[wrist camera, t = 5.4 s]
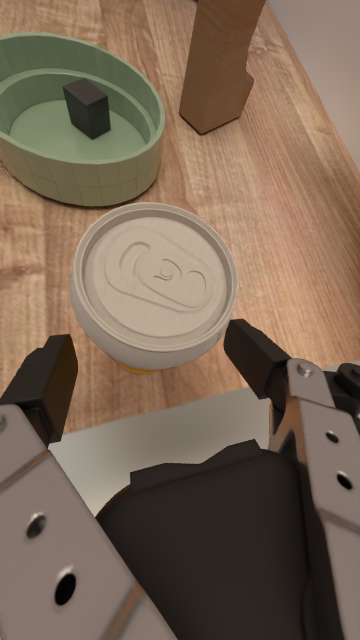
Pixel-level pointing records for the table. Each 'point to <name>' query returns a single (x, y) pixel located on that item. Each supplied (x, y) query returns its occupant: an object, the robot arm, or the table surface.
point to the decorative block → (219, 62)
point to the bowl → (64, 138)
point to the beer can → (153, 286)
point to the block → (87, 108)
